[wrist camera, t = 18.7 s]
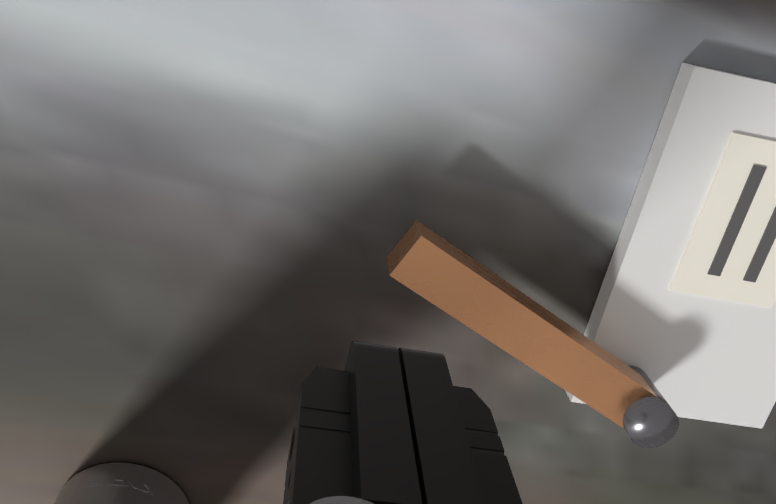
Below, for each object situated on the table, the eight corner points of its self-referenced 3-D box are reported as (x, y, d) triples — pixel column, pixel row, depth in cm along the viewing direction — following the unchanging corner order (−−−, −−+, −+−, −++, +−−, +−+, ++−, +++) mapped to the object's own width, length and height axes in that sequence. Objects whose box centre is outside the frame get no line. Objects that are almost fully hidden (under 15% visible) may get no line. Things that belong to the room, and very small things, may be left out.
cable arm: (657, 380, 45) (689, 421, 41) (625, 411, 46) (653, 455, 42) (415, 212, 39) (424, 241, 35) (384, 252, 40) (389, 285, 36)
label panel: (749, 415, 49) (764, 431, 47) (564, 388, 47) (572, 404, 45) (899, 110, 41) (923, 116, 39) (682, 62, 39) (697, 66, 37)
